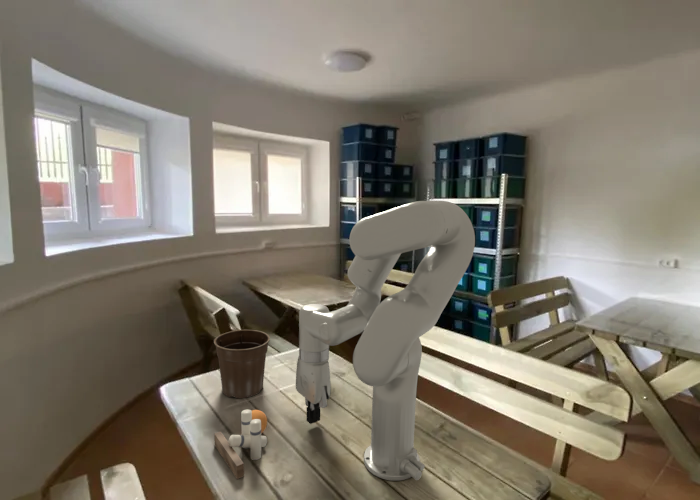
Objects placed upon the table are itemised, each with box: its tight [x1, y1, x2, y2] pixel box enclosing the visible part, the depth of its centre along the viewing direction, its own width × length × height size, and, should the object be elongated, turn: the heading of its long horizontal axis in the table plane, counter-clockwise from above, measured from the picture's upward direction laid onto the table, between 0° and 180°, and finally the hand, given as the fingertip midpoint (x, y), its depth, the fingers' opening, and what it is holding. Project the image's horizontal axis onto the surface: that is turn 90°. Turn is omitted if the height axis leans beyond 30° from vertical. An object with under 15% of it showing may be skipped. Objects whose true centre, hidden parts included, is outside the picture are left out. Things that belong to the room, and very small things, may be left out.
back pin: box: [249, 419, 262, 461], centre depth 90 cm, size 2×2×8 cm
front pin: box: [228, 434, 268, 448], centre depth 92 cm, size 2×2×8 cm
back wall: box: [213, 430, 245, 480], centre depth 89 cm, size 14×2×3 cm, turn 37°
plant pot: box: [213, 329, 271, 399], centre depth 120 cm, size 16×16×16 cm
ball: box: [251, 409, 268, 434], centre depth 99 cm, size 6×6×6 cm
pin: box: [240, 408, 252, 450], centre depth 94 cm, size 2×2×8 cm
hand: (313, 420), depth 103 cm, fingers closed
